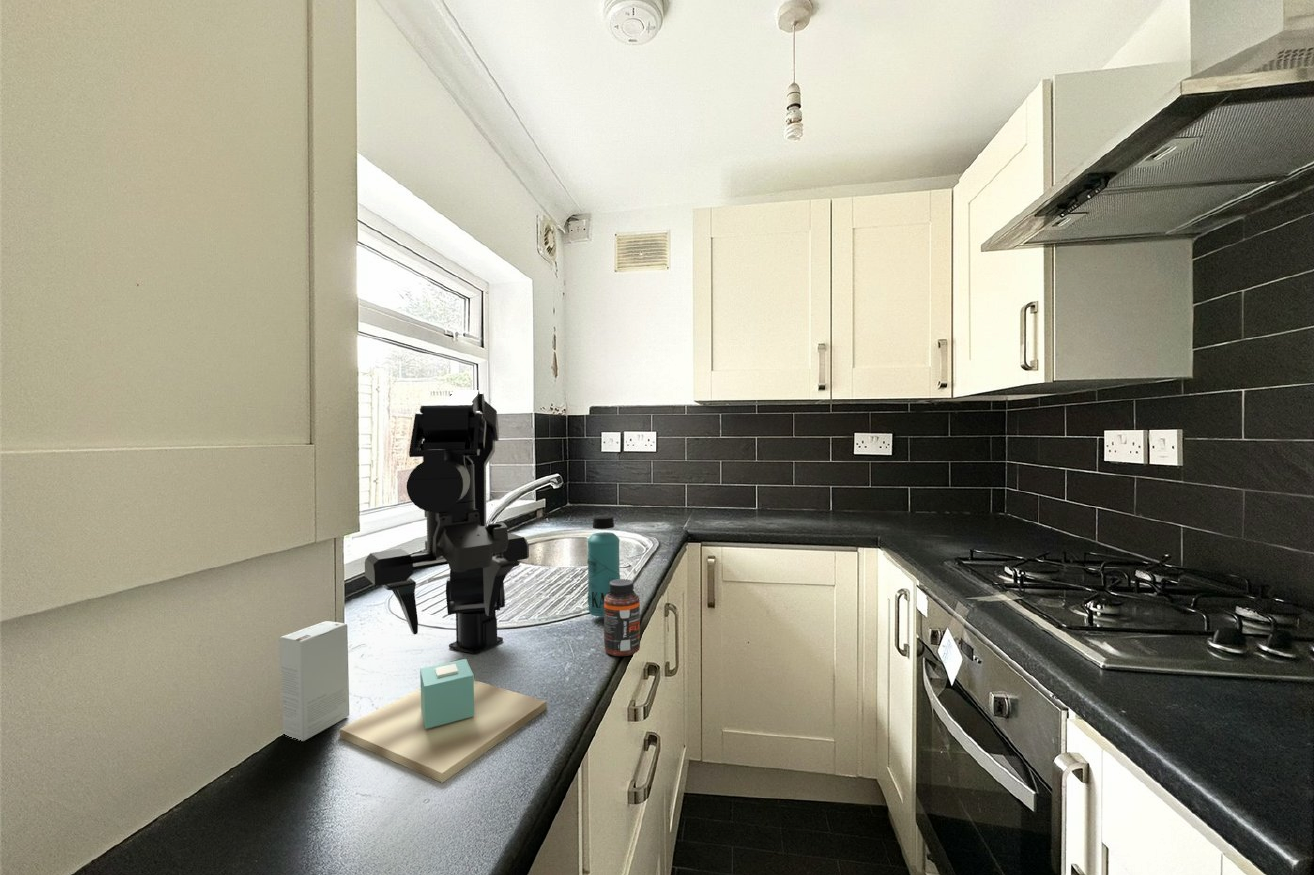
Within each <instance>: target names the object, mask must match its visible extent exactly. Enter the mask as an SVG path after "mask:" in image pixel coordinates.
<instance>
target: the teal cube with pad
mask: <svg viewBox="0 0 1314 875" xmlns="http://www.w3.org/2000/svg"><path fill="white" fill-rule="evenodd" d="M419 670H420V671H419V672H420V674H419V675H420V676H419V677H420V678H419V679H420V689H421V711H422V716H423V721H424V726H425V729H428V728H432V727H435V726H439V725H443V724H446V723H450V722H454V721H457V720H461V719H465V718H468V717H472V716H474V680H475V679H474V677H475V676H474V673H473V671H472V669H471V666H470V665H469V662H468V660H467V658H464V659H463V658H462V659H459V660H454V661H450V662H445V663H439V664H436V665H431V666H426V667H422V668H420V669H419Z"/></svg>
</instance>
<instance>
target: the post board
mask: <svg viewBox="0 0 1314 875" xmlns="http://www.w3.org/2000/svg"><path fill="white" fill-rule="evenodd" d="M546 710H547V701H546V700H543V699H540V698H537V697H536V698H535V697H534V696H530V695H527V694H524V693H523V694H522V693H520V692H515V691H512V690H509V689H506V688H502V687H499V686H496V685H492V684H488V683H485V682H481V681H478V680H475V679H474V716H472V717H468V718H465V719H461V720H457V721H454V722H450V723H446V724H443V725H439V726H435V727H432V728H428V729H425V726H424V721H423V716H422V711H421V688H419V689H417V690H415V691H413V692H411V693H409V694H407V695H405V696H403V697H401V698H399V699H397V700H394V701H393V702H391V703H389V704H386V705H385V706H382V707H381V708H379V709H377V710H375V711H373V712H371V713H369V714H367V715H365V716H362V717H360V718H359V719H357V720H355V721H353V722H351V723H349V724H346V725H344V726H343V727H341V728H340V727H339V738H340V739H343V740H345V741H348V742H349V743H351V744H354V745H356V746H358V747H361V748H363V749H365V750H367V751H370V752H372V753H374V754H376V755H379V756H381V757H384V758H385V759H388V760H390V761H392V762H395V763H397V764H399V765H401V766H403V767H406V768H408V769H410V770H411V771H415V772H417V773H419V774H421V775H423V776H426V777H429V778H430V779H433V780H435V781H438V782H439V783H442V784H443V783H444V782H446V781H447V780H449V779H450V778H451V777H453V776H454V775H456V774H457V773H458V772H460V771H461V770H463V769H465V768H466V767H467V766H469V765H470V764H471V763H473V762H474V761H475V760H477V759H478V758H480V757H481V756H482V755H484V754H485V753H487V752H488V751H489V750H491V749H492V748H493V747H495V746H496V745H498V744H499V743H501V742H502V741H504V740H505V739H506V738H508V737H509V736H510V735H513V733H515V732H516V731H517V730H519V729H521V728H523V727H524V726H525V725H526V724H527V723H529V722H530V721H532V720H533V719H535V718H536V717H538V716H539V715H541V713H543V712H544V711H546Z"/></svg>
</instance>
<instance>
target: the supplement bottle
mask: <svg viewBox="0 0 1314 875" xmlns="http://www.w3.org/2000/svg"><path fill="white" fill-rule="evenodd" d="M609 590H610V593H609V594H607V595H606V596H605V598H604V616H603V638H604V640H603V641H604V642H603V644H604V651H605V652H606V653H607V654H608V655H611V656H613V657H629V656H632V655H635V654H636V653H637V652H638V651H640V649H641V620H640V619H641V616H640V615H641V612H640V608H641V607H640V606H641V605H640V596H639V594H637V593H636V592H635V591H634V590H635V589H634V580H632V579H625V578H620V579H618V580H613V581H611V582H610V583H609Z"/></svg>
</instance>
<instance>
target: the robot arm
mask: <svg viewBox="0 0 1314 875" xmlns="http://www.w3.org/2000/svg"><path fill="white" fill-rule="evenodd" d="M499 431H500V430H499V418H498V411H497V410H496V409H495V408H494V407H493V406H492V405H491V404H489V403H488V402H487V401H486V400H485V393H484V392H483V391H479V390H455V391H451V392H450V394H449V397H448V398H447V399H446V400H445V401H444V402H423V403H422V404H421V406H420V408H419V411H416V412H415V413H414V420H413V425H412V431H411V432H412V433H411V438H410V444H409V451H408V455H409V456H408V457H409V458H422V462H421V463H419V464H418V465H416V466H415V467H414V468H413V469H412V471H411V472H410V473H409V476H408V478H407V481H406V492H407V495H408V498H409V499H410V501H411V503H412V504H413V505H414V506H416V507H417V508H419V509H420V510H422V511H424V518H426V540H425V541H424V549H425V550H427V552H421V553H414V554H411V553H409V552H407V551H406V550H404V549H403V548H397V549H389V550H382V551H377V552H370V553H369V554H368V556H366V558H365V561H364V577H365V578H366V579H367V580H368V581H370V582H371V584H373V585H374V586H382V587H383V588H384V589H385V590H387V591H392V593H393V594H394V596H395V598H396V599H397V601H398V603H399V606H400V608H401V610H402V612H403V615H404V617H405V620H406V622H407V624H408V626H409V628H410V631H411V633H412V635H414V636H415V635H418V633H419V632H418V631H419V617H418V612H417V603H416V594H415V592H416V585H417V581H415V580H413V579H412V578H411V576H412V575H413V573H414V571H416V570H423V569H427V568H435V567H439V566H445V565H446V566H447V565H448V566H449V569H450V570H449V577H447V578H446V582H445V600H446V610H447V611H446V612H447V616H452V615H455V632H456V633H455V635H456V640H455V641H453V642H451V643H449V644H448V648H449V649H452V650H456V651H460V652H464V653H468V654H472V655H476V654H479V653H480V652H483V651H485V650H487V649H490V648H491V647H493V646H495V645H497V644H499V643H501V642H503V640H504V637H502V636H499V635H498V618H497V615H496V614H497V613H496V611H501V609H502V608H504V607H506V594H505V582H504V581H505V579H506V576H508V574H509V573H510V572H511V570H513V568H515V567H519V566H520V563H521V561H522V560H526V559H529V558H530V545H529V541H528V540H527V539H526V538H525V537H524V536H520V535H517V534H515V533H512V532H509V531H508V526H507V525H506V524H505V522H495V523H494V522H493V523H489V524H487V465H488V463H489V462H490V460H491V458H492V457H493V455H494V454H495V451H496V442H499V438H500V437H499V436H500V432H499Z"/></svg>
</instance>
